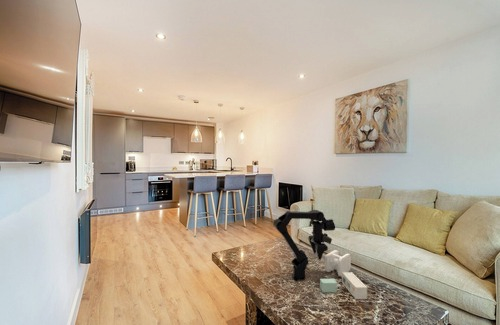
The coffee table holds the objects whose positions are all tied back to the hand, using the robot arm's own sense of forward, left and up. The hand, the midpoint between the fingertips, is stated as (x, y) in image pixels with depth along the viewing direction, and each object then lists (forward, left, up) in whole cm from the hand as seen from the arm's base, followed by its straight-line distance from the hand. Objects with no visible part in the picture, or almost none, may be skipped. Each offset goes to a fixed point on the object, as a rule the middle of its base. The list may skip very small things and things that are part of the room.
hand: (317, 256), depth 141 cm
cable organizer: (+15, +5, -12) cm, 20 cm away
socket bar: (+15, -16, -12) cm, 25 cm away
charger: (+2, -16, -12) cm, 20 cm away
